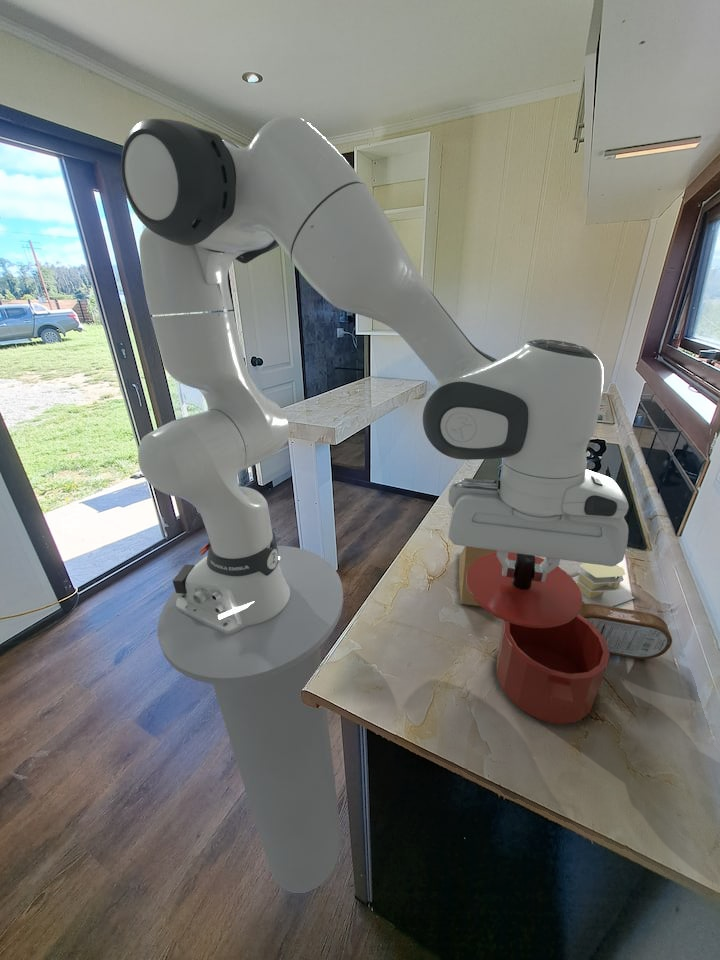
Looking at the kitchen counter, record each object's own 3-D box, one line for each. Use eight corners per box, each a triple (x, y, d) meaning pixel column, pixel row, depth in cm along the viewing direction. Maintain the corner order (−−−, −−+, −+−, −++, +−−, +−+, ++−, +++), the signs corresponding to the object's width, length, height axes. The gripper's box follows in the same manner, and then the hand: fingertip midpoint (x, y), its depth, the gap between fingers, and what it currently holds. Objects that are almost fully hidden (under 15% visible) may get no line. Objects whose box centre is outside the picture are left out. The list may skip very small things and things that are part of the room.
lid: (461, 618, 48) (464, 583, 46) (468, 551, 61) (471, 521, 58) (591, 643, 44) (602, 606, 42) (570, 565, 57) (578, 533, 54)
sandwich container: (497, 559, 86) (506, 501, 79) (506, 609, 72) (518, 544, 66) (458, 555, 88) (463, 498, 81) (459, 603, 74) (466, 539, 68)
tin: (657, 651, 63) (674, 613, 59) (665, 667, 60) (683, 629, 57) (557, 632, 67) (567, 596, 63) (560, 647, 64) (571, 610, 61)
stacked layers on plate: (595, 612, 71) (603, 589, 69) (558, 582, 79) (563, 560, 76) (635, 598, 74) (643, 575, 71) (595, 570, 81) (601, 549, 79)
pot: (496, 727, 53) (505, 681, 49) (496, 624, 69) (503, 583, 65) (607, 757, 49) (627, 711, 45) (580, 641, 65) (592, 599, 61)
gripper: (447, 488, 46) (442, 578, 52) (646, 507, 40) (614, 607, 46) (452, 467, 51) (447, 551, 57) (629, 481, 45) (602, 574, 51)
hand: (523, 576), depth 51 cm, fingers closed on lid, 2 cm apart
